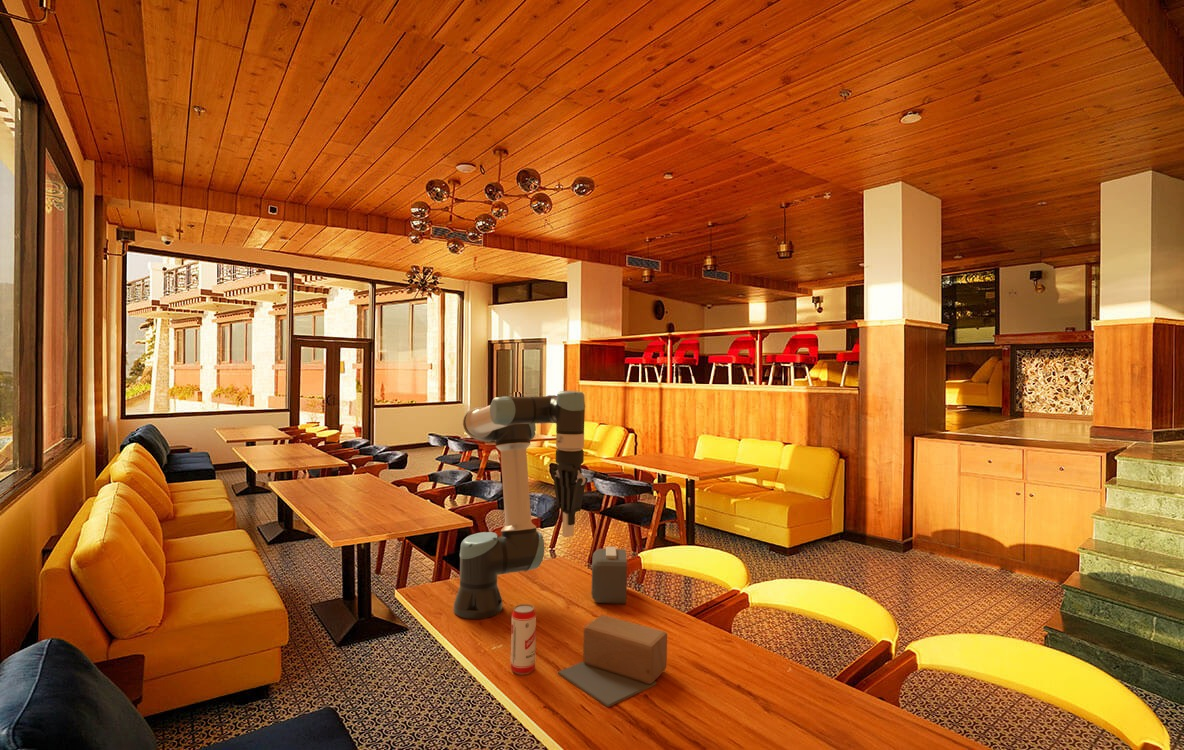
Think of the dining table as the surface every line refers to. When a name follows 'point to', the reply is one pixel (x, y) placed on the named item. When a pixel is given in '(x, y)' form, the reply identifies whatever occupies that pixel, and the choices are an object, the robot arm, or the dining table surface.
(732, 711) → the dining table surface
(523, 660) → the beer can
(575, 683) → the mat
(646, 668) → the wooden block
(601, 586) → the alarm clock
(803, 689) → the dining table surface
